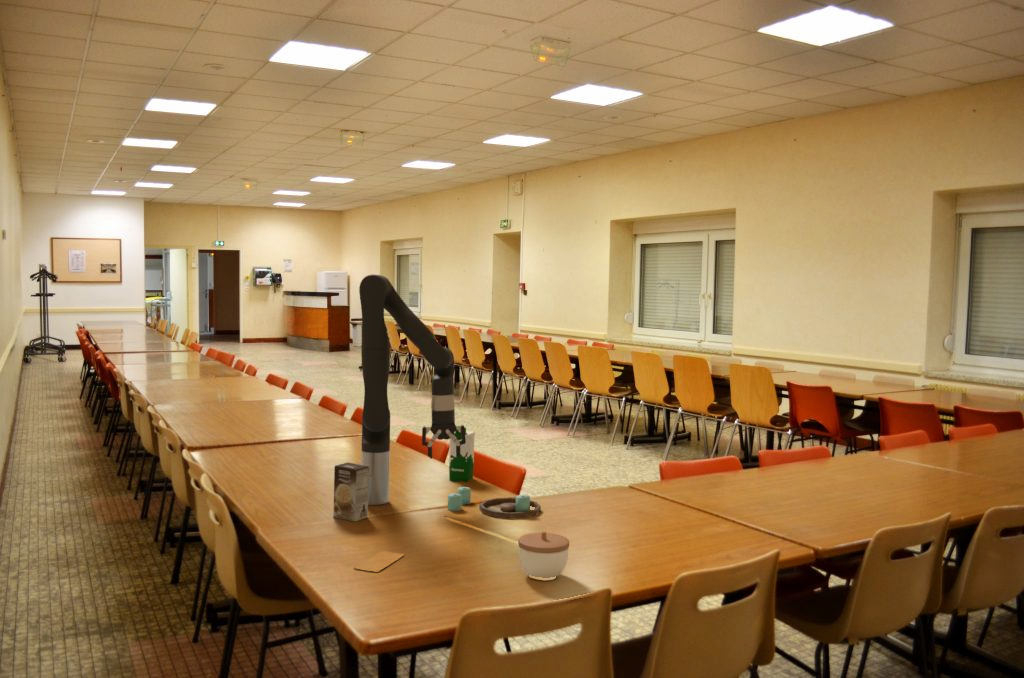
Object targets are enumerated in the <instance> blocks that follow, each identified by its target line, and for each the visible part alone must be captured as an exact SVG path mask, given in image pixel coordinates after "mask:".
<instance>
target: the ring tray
mask: <svg viewBox="0 0 1024 678" xmlns="http://www.w3.org/2000/svg"><path fill="white" fill-rule="evenodd" d="M530 506H532V507H535V509H534V510H530V511H526V512H515V511H516V497H495V498H490V499H485V500H483V501H482V502H481V503H479V508H478V509H479V511H480V512H481V514H483V515H486V516H488V517H492V518H499V519H511V518H516V519H526V518H525V517H527V518H530V517H529V516H532V517H534V516H533V515H535V516H537V515H538V514H539V513H540V512H541V511H540V510H541V508H542V507H541V505H540V504H539V503H538V502H537V501H533V500H530ZM539 511H540V512H539ZM538 512H539V513H538ZM537 513H538V514H537ZM536 514H537V515H536Z"/></svg>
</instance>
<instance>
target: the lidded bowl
mask: <svg viewBox="0 0 1024 678" xmlns="http://www.w3.org/2000/svg"><path fill="white" fill-rule="evenodd" d="M517 544H518V545H517V546H518V559H519V563H520V567H521V568H522V570H523V571H524V572H525V573H526V574H527V575H528V574H529V575H531V576H535V577H542V578H550V577H555V576H557V577H558V576H560V574H562V573H563V571H564V570H565V568H566V565H567V563H568V560H569V549H570V540H569V539H568V538H567V537H566V536H564V535H561V534H556V533H551V532H547V531H541V532H529V533H525V534H523V535H521V536H519V537H518V539H517Z"/></svg>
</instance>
